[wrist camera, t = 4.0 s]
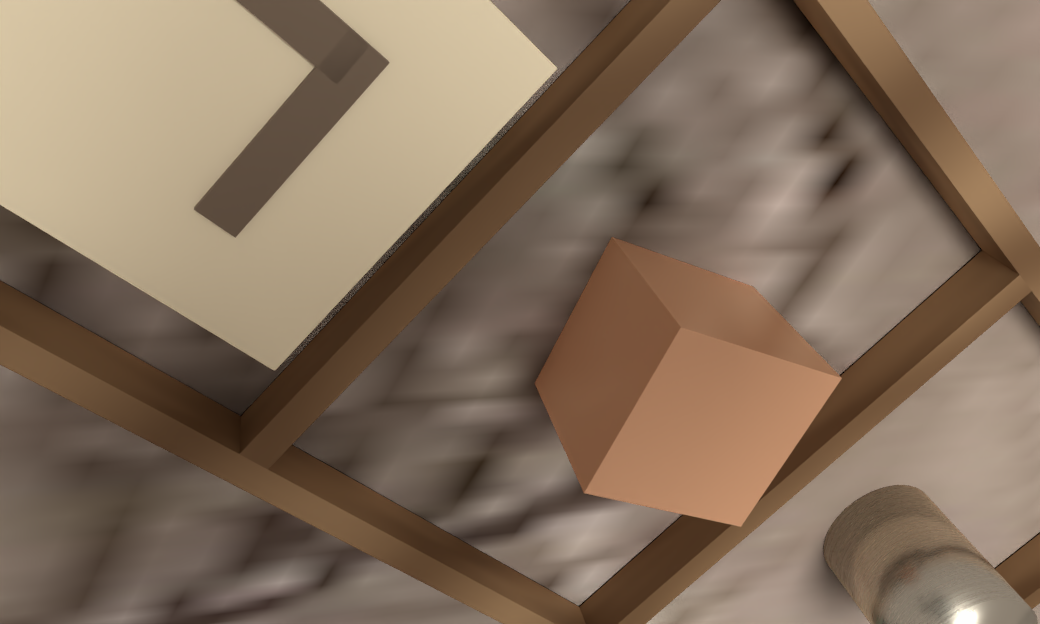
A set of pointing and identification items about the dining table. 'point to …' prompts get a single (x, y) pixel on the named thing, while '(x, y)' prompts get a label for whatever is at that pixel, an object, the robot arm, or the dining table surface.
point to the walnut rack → (453, 243)
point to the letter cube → (248, 140)
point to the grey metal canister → (916, 565)
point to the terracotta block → (679, 387)
